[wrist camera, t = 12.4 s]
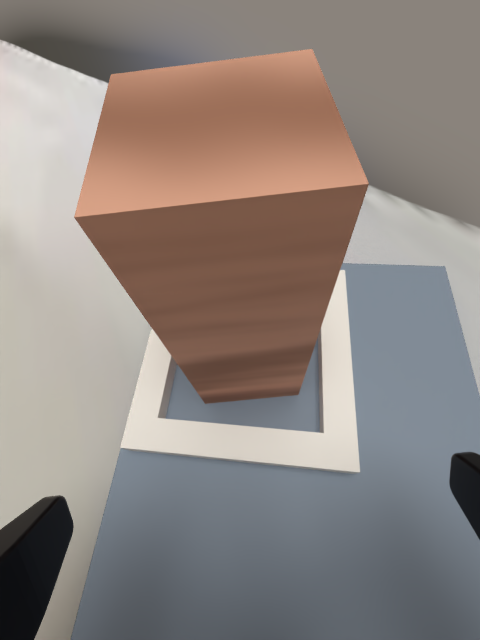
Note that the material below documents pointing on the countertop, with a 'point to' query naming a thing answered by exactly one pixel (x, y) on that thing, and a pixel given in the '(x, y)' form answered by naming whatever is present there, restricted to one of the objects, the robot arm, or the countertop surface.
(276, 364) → the terracotta block
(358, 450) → the board
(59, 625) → the countertop surface
